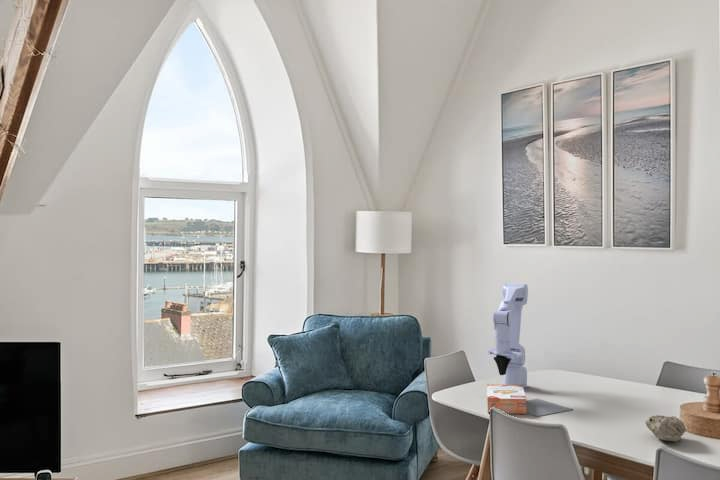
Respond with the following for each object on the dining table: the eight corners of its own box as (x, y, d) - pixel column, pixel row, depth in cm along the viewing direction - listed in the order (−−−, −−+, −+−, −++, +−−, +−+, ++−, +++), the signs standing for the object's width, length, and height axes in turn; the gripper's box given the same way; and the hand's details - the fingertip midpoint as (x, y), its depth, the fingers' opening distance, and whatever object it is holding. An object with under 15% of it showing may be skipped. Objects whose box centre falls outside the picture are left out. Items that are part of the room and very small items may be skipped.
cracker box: (522, 383, 262) (526, 398, 242) (523, 398, 262) (527, 414, 242) (486, 383, 264) (487, 397, 244) (486, 398, 265) (487, 414, 244)
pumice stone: (688, 450, 204) (688, 423, 203) (646, 445, 208) (646, 419, 208) (684, 436, 216) (684, 412, 216) (644, 432, 221) (644, 408, 221)
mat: (537, 399, 264) (537, 398, 264) (573, 409, 249) (573, 409, 249) (502, 405, 255) (502, 404, 255) (537, 416, 240) (537, 415, 240)
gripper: (482, 339, 272) (482, 372, 273) (507, 344, 260) (507, 379, 260) (495, 337, 276) (495, 370, 276) (521, 342, 264) (521, 377, 264)
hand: (502, 374), depth 268 cm, fingers closed
